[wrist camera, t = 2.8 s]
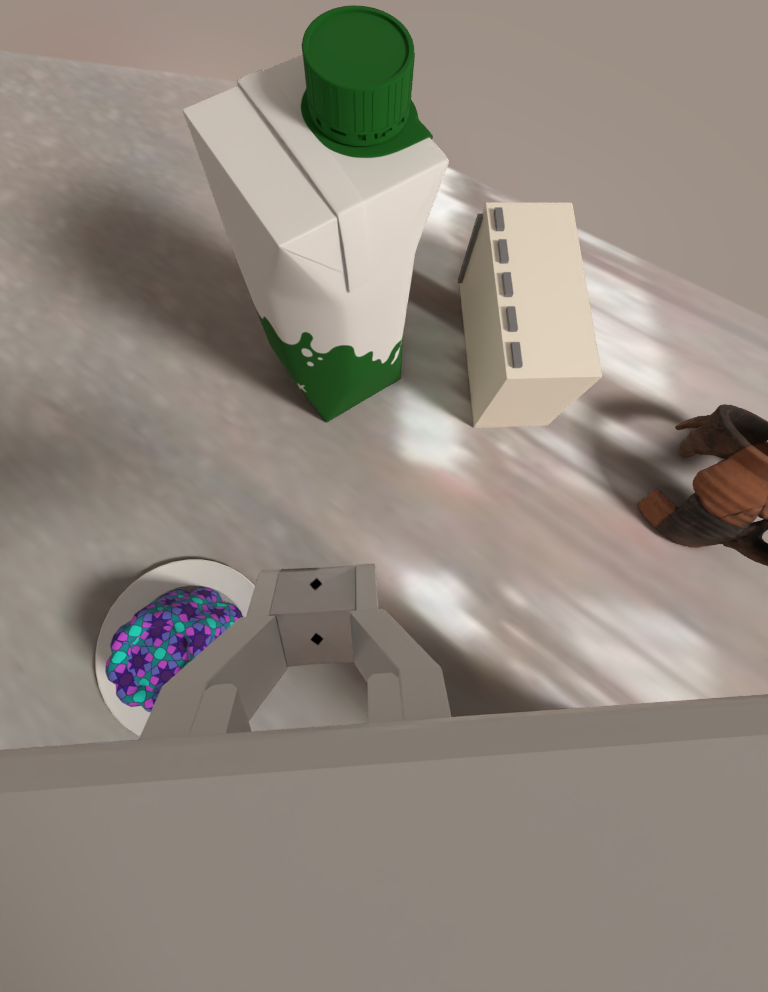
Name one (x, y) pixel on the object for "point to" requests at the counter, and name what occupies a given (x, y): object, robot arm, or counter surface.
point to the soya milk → (326, 199)
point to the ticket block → (526, 315)
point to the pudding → (163, 632)
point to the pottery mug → (721, 486)
